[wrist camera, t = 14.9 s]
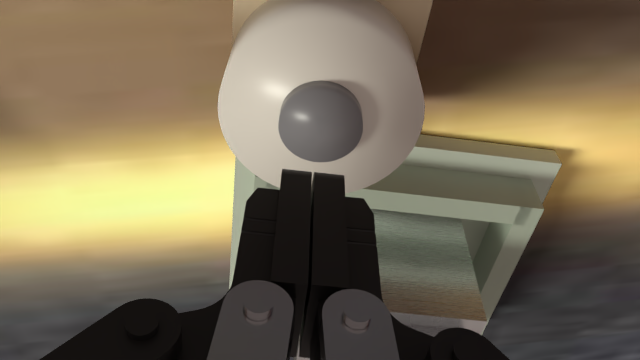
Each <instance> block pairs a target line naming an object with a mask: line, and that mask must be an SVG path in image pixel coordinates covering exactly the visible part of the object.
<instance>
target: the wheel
mask: <svg viewBox="0 0 640 360" xmlns="http://www.w3.org/2000/svg"><path fill="white" fill-rule="evenodd" d="M424 109H425V105H424V95H423V91H422V87H421V82H420V78H419V74H418V70H417V66H416V62H415V58H414V54H413V50H412V46H411V43H410V41H409V38H408V36H407V34H406V32H405V30H404V29H403V27H402V25H401V24H400V22H399V21H398V20H397V19H396V17H395V16H394V15H393V14H392V13H391V12H390V11H389V10H388V9H387V8H386V7H385V6H383V5H382V4H381V3H379V2H378V1H376V0H268V1H266V2H265V3H263V4H262V5H261V6H259V7H258V8H257V9H256V10H255V11H254V12H253V13H252V14H251V15H250V16H249V17H248V19H247V20H246V21H245V22H244V24H243V26H242V27H241V29H240V30H239V32H238V34H237V37H236V39H235V41H234V44H233V47H232V51H231V54H230V57H229V60H228V64H227V67H226V70H225V73H224V76H223V80H222V83H221V87H220V91H219V97H218V117H219V122H220V127H221V130H222V132H223V135H224V138H225V140H226V142H227V144H228V146H229V147H230V149H231V150H232V152H233V153H234V155H235V156H236V157H237V159H238V160H239V161H240V162H241V163H242V164H243V165H244V166H245V167H246V168H247V169H248V170H250V171H251V172H252V173H253V174H255V175H256V176H258V177H259V178H261V179H262V180H264V181H266V182H268V183H270V184H272V185H273V186H276V187H279V188H280V183H281V174H282V169H289V170H298V171H308V172H312V180H313V174H314V172H318V173H328V174H337V175H344V178H345V194H346V193H350V192H354V191H358V190H360V189H363V188H366V187H368V186H370V185H372V184H374V183H377V182H379V181H380V180H382V179H383V178H385V177H386V176H388V175H389V174H390V173H392V172H393V171H394V170H395V169H397V168H398V167H399V166H400V165H401V164H402V163H403V161H404V160H405V159H406V158H407V157H408V155H409V154H410V153H411V151H412V150H413V148H414V146H415V144H416V142H417V140H418V138H419V135H420V132H421V130H422V125H423V121H424ZM311 187H312V186H311Z"/></svg>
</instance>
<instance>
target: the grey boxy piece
mask: <svg viewBox="0 0 640 360" xmlns="http://www.w3.org/2000/svg"><path fill="white" fill-rule="evenodd" d="M371 210H372V212H373V213H374V222H375V233H376V242H377V244H376V247H377V253H378V263H379V273H380V283H381V294H382V299H383V302H384V304H385V305H386V307H387V308H388V310H389V312H390V313H391V315H392V316H394V317H395V318H396V319H397V320H398V321H399V322H401V323H402V324H404V325H406V326H408V327H410V328H412V329H415V330H417V331H420V332H423V333H425V334H428V335H431V336H433V337H435V336H436V335H437V334H438V333H439V332H440V331H442V330H444V329H448V328H455V327H456V328H465V329H469V330H472V331H474V332H477V333H479V334H480V335H481V333H482V331H483V329H484V328H485V326H486V324H487V318H486V314H485V310H484V307H483V303H482V299H481V295H480V291H479V287H478V283H477V280H476V276H475V272H474V268H473V264H472V260H471V256H470V253H469V249H468V245H467V241H466V237H465V233H464V229H463V226H462V222H461V219H460V218H451V217H442V216H433V215H424V214H415V213H406V212H397V211H388V210H379V209H371ZM299 346H300V336H299V342H298V347H297V353H296V357H294V360H310V358H303V357H299Z"/></svg>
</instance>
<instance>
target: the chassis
mask: <svg viewBox="0 0 640 360" xmlns="http://www.w3.org/2000/svg"><path fill="white" fill-rule="evenodd" d="M561 165H562V163H561V161H560V159H559V157H558V156H557V154H556V152H555V150H546V149H538V148H530V147H522V146H513V145H505V144H497V143H488V142H480V141H472V140H463V139H455V138H447V137H438V136H430V135H422V134H420V135H419V138H418V140H417V142H416V144H415V146H414V148H413V150H412V151H411V153H410V154H409V155H408V157H407V158H406V159H405V160H404V161H403V163H402V164H401V165H400V166H399V167H398V168H397V169H395V170H394V171H393V172H392V173H390V174H389V175H388V176H386V177H385V178H383V179H382V180H380V181H379V182H377V183H374V184H372V185H370V186H368V187H366V188H363V189H360V190H358V191H354V192H350V193H346V194H345V197H355V198H364V200H365V201H366V203H367V204H368V206H369V207H370V209H379V210H388V211H397V212H406V213H415V214H424V215H433V216H442V217H451V218H460V219H461V222H462V226H463V229H464V233H465V237H466V241H467V245H468V249H469V253H470V256H471V260H472V264H473V268H474V272H475V276H476V280H477V283H478V287H479V291H480V295H481V299H482V303H483V307H484V310H485V314H486V318H487V323H488V321H489V319H490V317H491V315H492V313H493V311H494V309H495V307H496V305H497V303H498V301H499V299H500V297H501V295H502V293H503V291H504V289H505V287H506V285H507V283H508V281H509V279H510V277H511V275H512V273H513V271H514V269H515V267H516V265H517V263H518V261H519V259H520V257H521V255H522V253H523V251H524V249H525V247H526V245H527V243H528V241H529V239H530V237H531V235H532V233H533V231H534V229H535V227H536V225H537V223H538V221H539V219H540V217H541V215H542V213H543V211H544V207H543V205H542V203H543V201H544V199H545V197H546V195H547V193H548V191H549V189H550V187H551V185H552V183H553V181H554V179H555V177H556V175H557V173H558V171H559V169H560V167H561ZM257 188H267V189H277V190H280V188H279V187H276V186H273V185H272V184H270V183H268V182H266V181H264V180H262V179H261V178H259V177H258V176H256V175H255V174H253V173H252V172H251V171H250V170H248V169H247V168H246V167H245V166H244V165H243V164H242V163H241V162H240V161H239V160H238V159H237V157H236V161H235V182H234V202H233V222H232V242H231V262H230V283H229V289H230V287H231V285H232V281H233V276H234V270H235V264H236V258H237V252H238V247H239V241H240V235H241V229H242V223H243V218H244V212H245V206H246V201H247V200H248V198H249V197H250V196H251V195H252V194H253V192H254V191H255V190H256V189H257ZM486 325H487V324H486ZM485 327H486V326H485ZM484 329H485V328H484ZM484 329H483V331H484ZM483 331H482V333H483ZM482 333H481V335H482Z"/></svg>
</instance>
